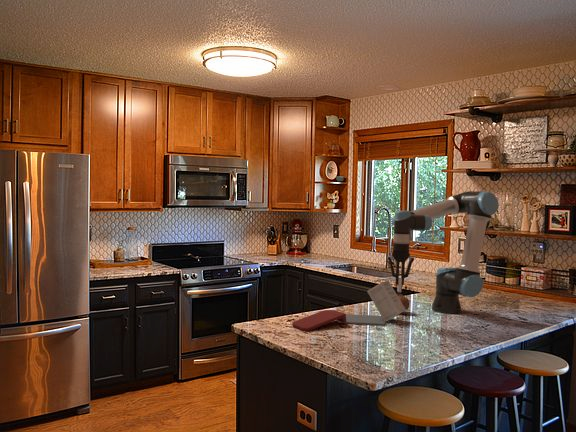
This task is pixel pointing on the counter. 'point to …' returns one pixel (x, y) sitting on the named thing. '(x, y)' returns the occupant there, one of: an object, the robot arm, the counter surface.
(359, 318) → the mat
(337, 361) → the counter surface
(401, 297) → the onion
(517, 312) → the counter surface
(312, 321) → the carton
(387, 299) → the supplement box
